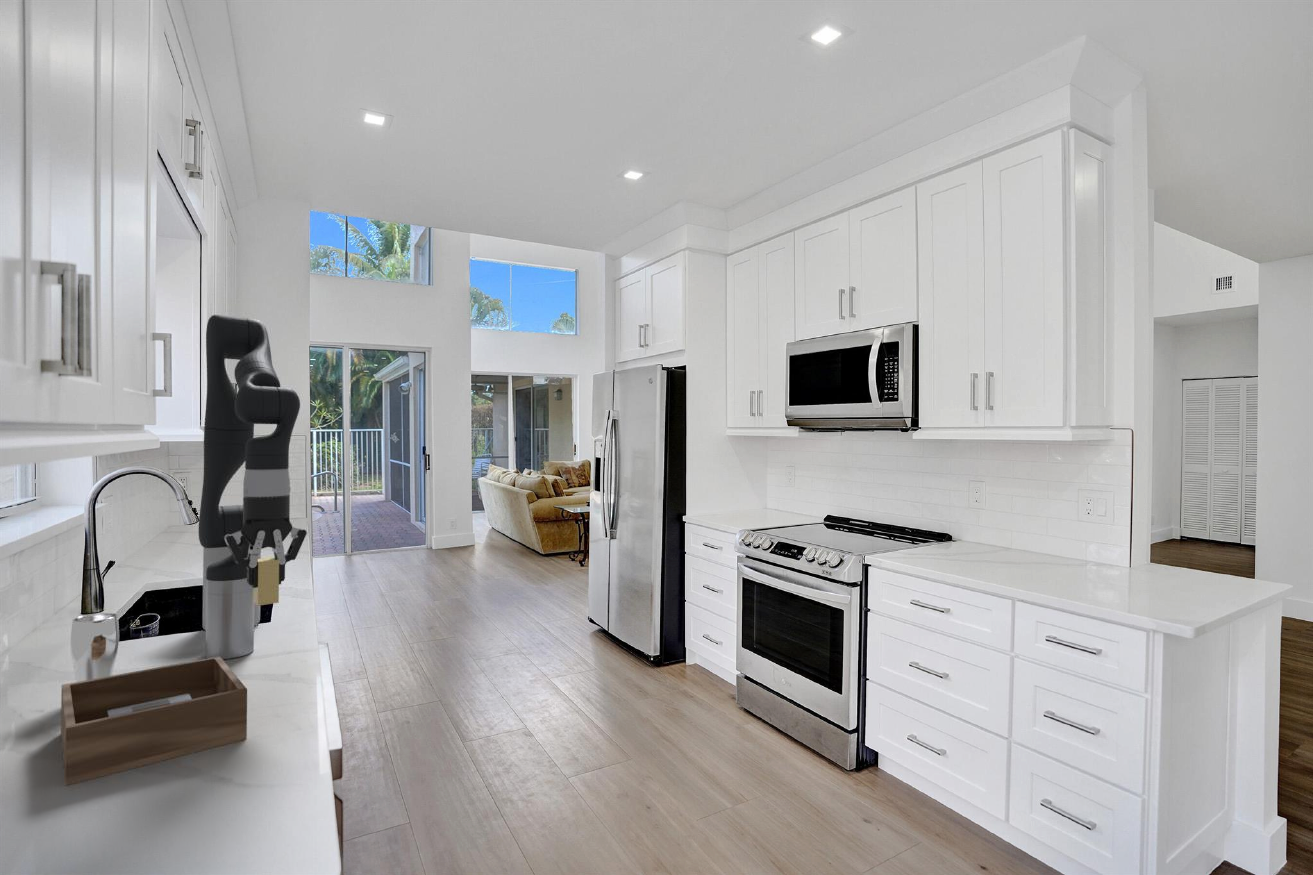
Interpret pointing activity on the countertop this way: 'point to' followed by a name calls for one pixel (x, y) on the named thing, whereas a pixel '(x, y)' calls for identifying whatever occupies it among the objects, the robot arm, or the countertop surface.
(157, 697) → the walled box
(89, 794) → the countertop surface
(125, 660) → the countertop surface
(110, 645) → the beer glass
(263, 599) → the tan wooden block
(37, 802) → the countertop surface
